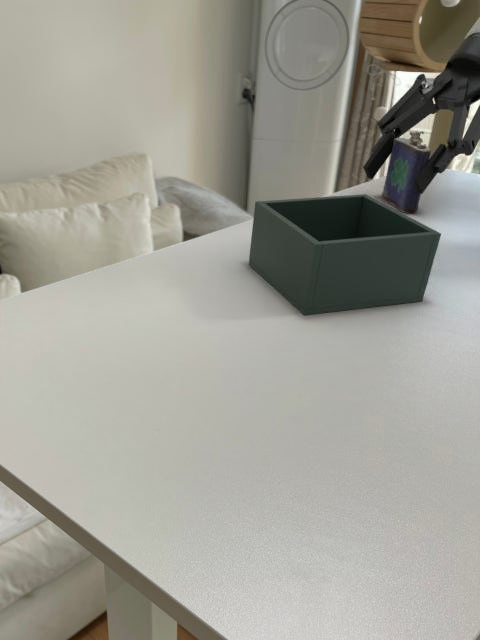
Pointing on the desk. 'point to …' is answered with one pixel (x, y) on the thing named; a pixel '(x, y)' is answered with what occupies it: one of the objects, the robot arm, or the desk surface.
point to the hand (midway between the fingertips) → (392, 180)
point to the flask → (405, 172)
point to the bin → (341, 252)
